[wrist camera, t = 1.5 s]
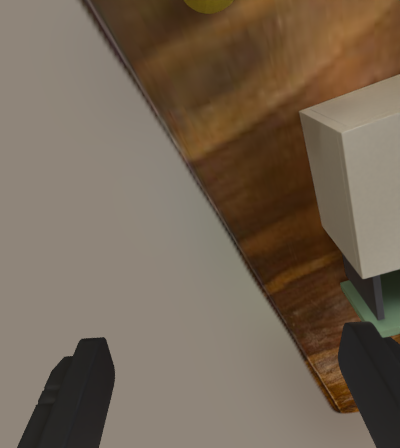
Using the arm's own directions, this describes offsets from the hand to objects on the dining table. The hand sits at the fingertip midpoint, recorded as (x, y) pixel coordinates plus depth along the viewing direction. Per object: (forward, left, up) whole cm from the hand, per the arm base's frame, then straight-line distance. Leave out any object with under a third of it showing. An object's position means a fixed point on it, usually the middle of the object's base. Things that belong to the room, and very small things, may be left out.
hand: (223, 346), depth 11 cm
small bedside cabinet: (-16, +9, -27) cm, 33 cm away
